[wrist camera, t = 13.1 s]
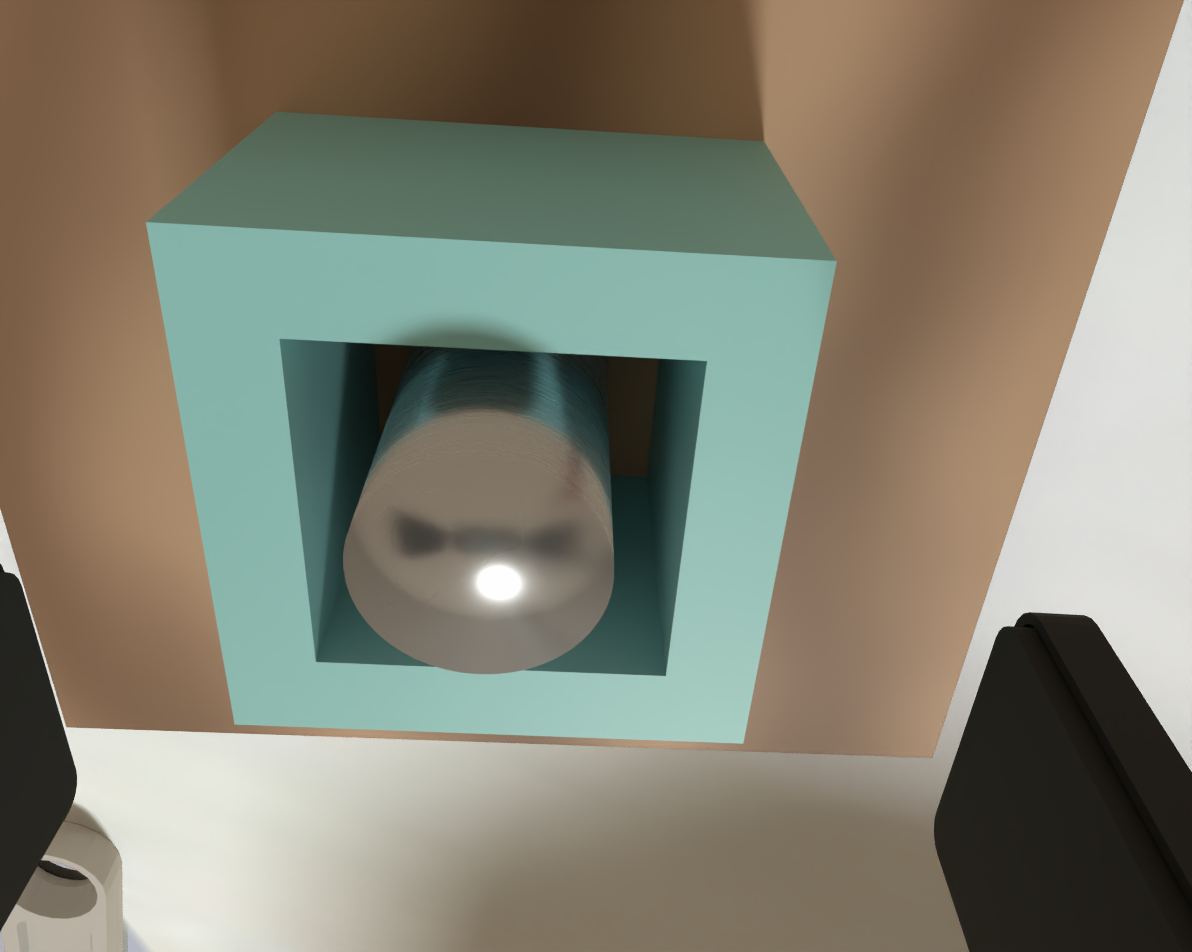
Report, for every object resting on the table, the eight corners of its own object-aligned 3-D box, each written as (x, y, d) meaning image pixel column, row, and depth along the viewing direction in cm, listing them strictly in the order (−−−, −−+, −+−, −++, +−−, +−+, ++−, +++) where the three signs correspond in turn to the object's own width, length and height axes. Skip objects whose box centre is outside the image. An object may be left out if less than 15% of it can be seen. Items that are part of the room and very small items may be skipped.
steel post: (611, 263, 16) (623, 464, 10) (600, 433, 17) (606, 678, 12) (416, 252, 15) (332, 451, 10) (422, 424, 17) (352, 669, 12)
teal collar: (763, 141, 15) (837, 261, 10) (706, 536, 18) (743, 743, 14) (275, 111, 14) (145, 222, 10) (317, 518, 18) (234, 724, 14)
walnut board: (1220, -298, 13) (1287, -313, 12) (912, 706, 23) (931, 757, 21) (-196, -406, 13) (-285, -433, 11) (96, 676, 22) (66, 727, 21)
